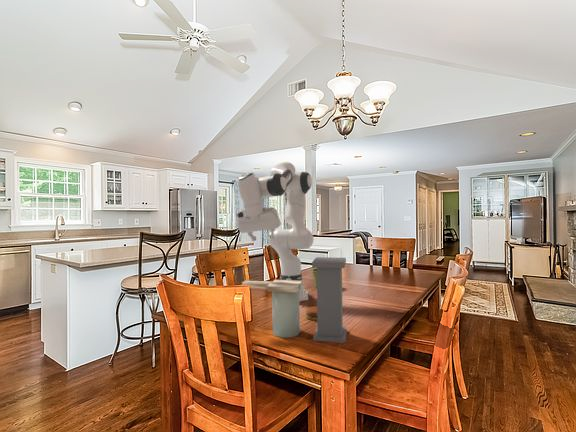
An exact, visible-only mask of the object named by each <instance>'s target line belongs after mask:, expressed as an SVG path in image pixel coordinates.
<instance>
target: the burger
mask: <svg viewBox="0 0 576 432" xmlns="http://www.w3.org/2000/svg"><path fill="white" fill-rule="evenodd" d="M305 314H306V315H305V317H306V319H308V320H309V321H315V322H316V321H317V305H316V306H311V307H309V308H307V309H306V313H305Z"/></svg>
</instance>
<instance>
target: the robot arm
mask: <svg viewBox="0 0 576 432" xmlns="http://www.w3.org/2000/svg"><path fill="white" fill-rule="evenodd" d="M312 184H313V179H312V176H311V174H310V173H309V172H307V171H302V172H298V171H296V166H295V165H294V164H293V163H292V162H288V161H283V162H281V163H278V164H276V165H274V166H273V167H272V168H271V169H270V171H269V173H268V175H266V176H261V177H258V176H256V175H255V174H254V172H248V173H245V174H242V175H239V176H238V178H237V186H238V191H239V196H240V198H241V200H242V204H243V209H241V210H240V211H239V212H237V213H235V217H236V219H237V220H236V221H237V228H238V231H239V232H240V233H241V234H245V233H247V235H248V236H249V238H250V239H251V242H256V241H257V237H256V236H255V235H254V234H253V232H254V233H255V232H259V231H260V232H261V231H266V230H269V232H270V233H269V235H268V239H267V240H268V241H267V242H268V244H269V246H270V247H271V248H273V249H274V251H275V252H276V253H277V254H278V258H279V261H280V275H279V280H299V281H303V274H302V261H301V258H300V257H298V256H297V255H295V254H294V253H293V251H292V250H304V249H305V250H306V249H310V248H311V247H312V245H313V243H314V235H313V232H311V231H310V230H309V229H308V228H307V227H306V225H305V219H304V218H305V210H306V194H307V193H308V191H309V190H310V189H311V188H312ZM285 193H288V194H289V195H288V198H287V200H286V204H285V211H284V216H283V217H284V221H285V222H286V223H287V224H288V225H290V226H291V228H288V229H287V228H279V227H281V224H282V223H281V220H280V217H279V215H278V211H277V209H276V208H275V207H271V206H270V207H265V204H264V200H263V199H267V198H273V197H280V196H283V195H284V194H285ZM277 228H278V229H277ZM303 301H309V293H308V291H306V290H305V283H303V285H302V287H301V288H300V289H299V303H300V302H303Z"/></svg>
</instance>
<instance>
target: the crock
mask: <svg viewBox="0 0 576 432" xmlns="http://www.w3.org/2000/svg"><path fill="white" fill-rule="evenodd" d="M271 293H272V294H271V296H272V297H271V298H272V299H271V300H272V302H271V303H272V305H271V306H272V307H271V308H272V309H271V311H272V314H271V315H272V335H274V336H275V337H278V338H284V339H285V338H287V339H288V338H289V339H290V338H294V337H296V336H299V334H300V333H301V332H300V330H301V329H300V327H301V326H300V325H301V324H300V319H301V318H300V302H299V291H298V292H297V293H289V292H271Z"/></svg>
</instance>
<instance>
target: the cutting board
mask: <svg viewBox="0 0 576 432" xmlns="http://www.w3.org/2000/svg"><path fill="white" fill-rule="evenodd" d="M303 284H304V282H303V280H302V281H299V280H280V279H274V280H273V281H266V280H265V281H260V280H244V281H242V282H241V286H242V285H251V288H250V289H262V290H263V289H264V290H266V292H270V293H272V292H289V293H297V292H298V291H299V289H300V288H301V287H302V285H303Z"/></svg>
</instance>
